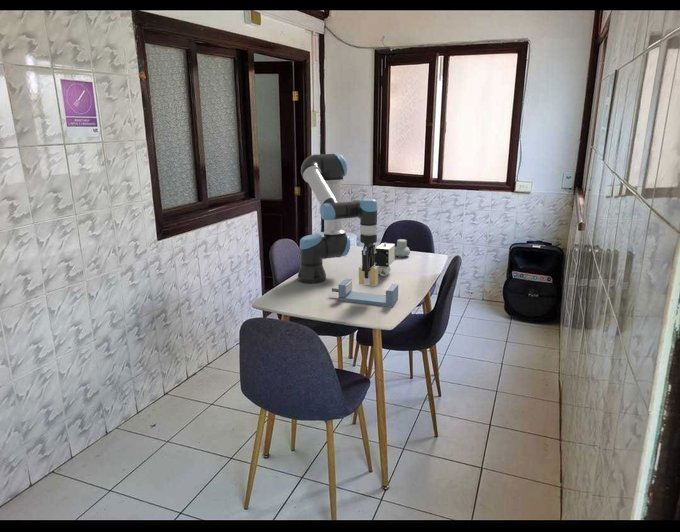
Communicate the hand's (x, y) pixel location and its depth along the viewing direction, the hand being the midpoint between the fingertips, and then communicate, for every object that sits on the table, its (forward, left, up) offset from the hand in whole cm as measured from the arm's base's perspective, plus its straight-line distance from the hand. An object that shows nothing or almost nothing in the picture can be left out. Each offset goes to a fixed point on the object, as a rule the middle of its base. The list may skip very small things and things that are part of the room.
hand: (368, 283), depth 226 cm
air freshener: (-4, +82, -9) cm, 83 cm away
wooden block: (0, 0, 0) cm, 0 cm away
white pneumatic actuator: (-4, +41, -9) cm, 42 cm away
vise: (0, 0, -8) cm, 8 cm away
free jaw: (-14, 0, -7) cm, 15 cm away
